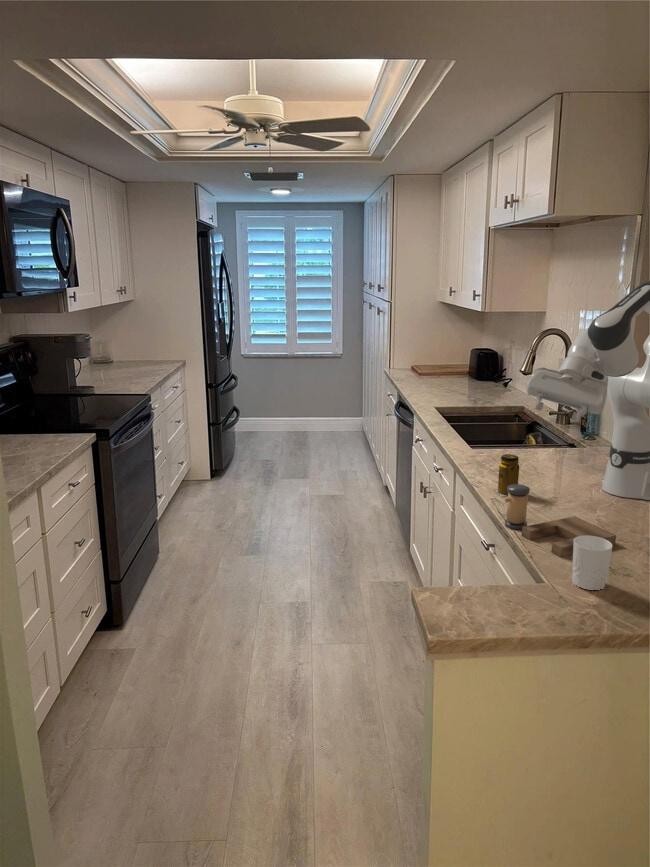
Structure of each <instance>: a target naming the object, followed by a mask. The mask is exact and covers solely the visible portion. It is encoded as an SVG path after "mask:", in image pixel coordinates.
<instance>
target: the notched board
mask: <svg viewBox="0 0 650 867" xmlns="http://www.w3.org/2000/svg"><path fill="white" fill-rule="evenodd" d="M554 535H557V536H559V537H561V538H563V539H564V540H560V541H554V542H552V543H551V551H550V552H551V553H552V554H554V555H555V554H556V556H557V557H559V558H562V557H566V556H571V555H573V544H574V538H576V537H578V536H596V537H600V538H603V539H606V540H608V541H609V542H611V543H612V545H613V546H614V545H616V539H617V535H616V534H614V533H613V532H610V531H608V530H605V529H603V528H602V527H599V526H597V525H595V524H593V523H591V522H588V521H586V520H583V519H582V518H579V517H578V516H576V515H575V516H569V517H565V518H559V519H555V520H551V521H545V522H539V523H536V524H535V523H534V524H530V525H527V526H524V527H522V530H521V537H523V538H524V539H527V540H529V541H531V540H536V539H541V538H545V537H550V536H554Z"/></svg>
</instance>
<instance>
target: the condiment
mask: <svg viewBox="0 0 650 867" xmlns="http://www.w3.org/2000/svg"><path fill="white" fill-rule="evenodd" d="M498 466H499V467H498V480H497V488H493V490H494V491H495V492H496V494H498V495H499V496H501V497H508V491H507V487H508V486H509V485H513V484H518V485H519V477H520V464H519V456H517V455H516V454H512V453H511V454H508V453H506V454H502V455H501V456H500V463H499V465H498Z"/></svg>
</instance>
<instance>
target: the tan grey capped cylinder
mask: <svg viewBox="0 0 650 867" xmlns="http://www.w3.org/2000/svg"><path fill="white" fill-rule="evenodd" d="M530 490H531V488H530V487H529V486H527V485H523V484H519V483H518V484H513V485H509V486H508V487H507V491H508V496H507V498H505V499H504V503H507V505H506V506H507V510H506V519H505V521H504V527H506V528H507V529H510V530H514V531H522V527H524V526H528V522H527V512H528V497H529V494H530V492H531V491H530Z"/></svg>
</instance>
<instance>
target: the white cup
mask: <svg viewBox="0 0 650 867" xmlns="http://www.w3.org/2000/svg"><path fill="white" fill-rule="evenodd" d="M613 547H614V545H612V543H611V542H609V541H608V540H606V539H603V538H600V537H596V536H578V537H576V538H574V544H573V554H572V578H571V581H572V583H573V585H574V584H575V586H576V585H577V586H578V587H577V586H576V587H577V588H579V587H581V588H584V589H590V590H599V591H601V590H600V589H602V590H604V589H605V586H606V583H607V577H608V574H609V570H610V565H611V564H610V563H611V559H612V551H613ZM581 588H580V589H581ZM584 589H583V590H584Z"/></svg>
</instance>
